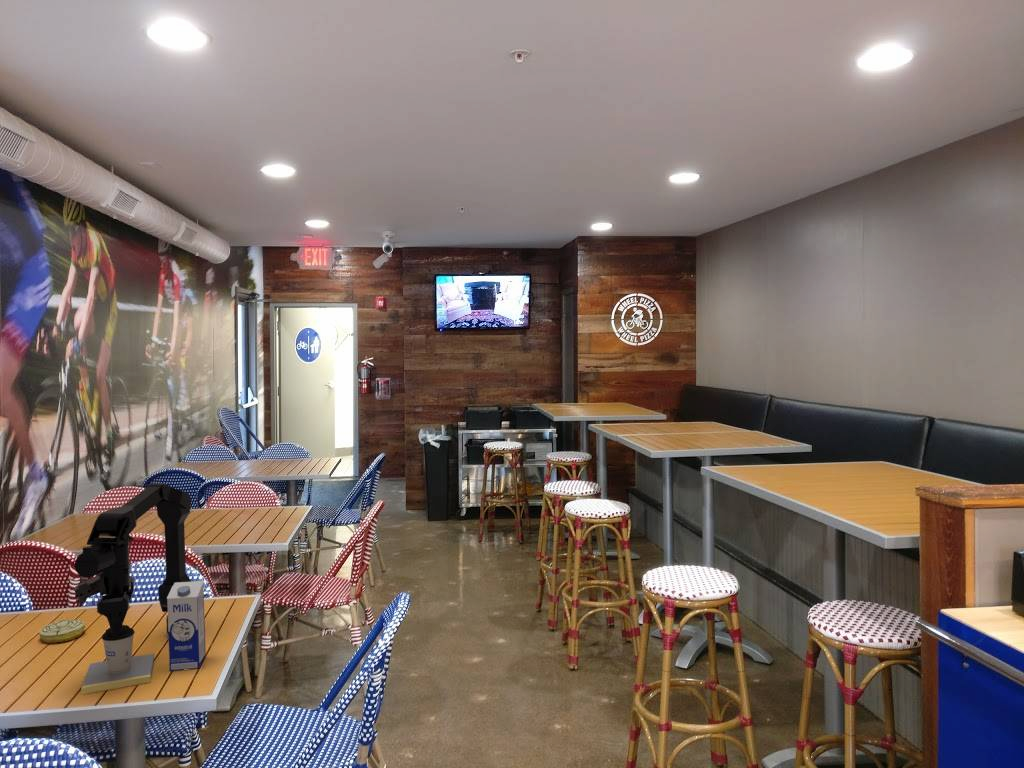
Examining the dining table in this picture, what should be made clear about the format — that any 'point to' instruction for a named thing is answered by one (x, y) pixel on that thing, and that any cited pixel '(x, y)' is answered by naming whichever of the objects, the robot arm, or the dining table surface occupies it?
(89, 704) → the dining table surface
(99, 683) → the dock
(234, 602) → the dining table surface
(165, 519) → the robot arm
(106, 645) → the coffee cup
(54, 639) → the decorated donut
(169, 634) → the milk carton
